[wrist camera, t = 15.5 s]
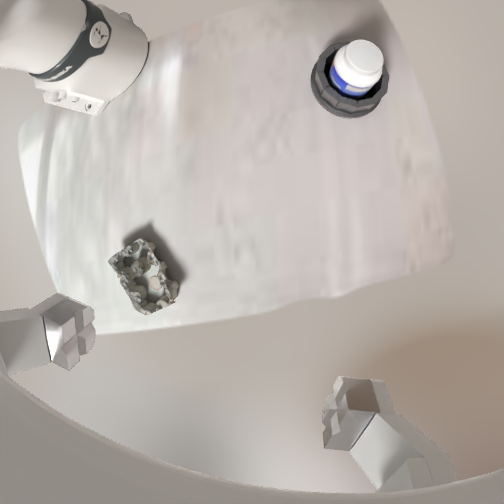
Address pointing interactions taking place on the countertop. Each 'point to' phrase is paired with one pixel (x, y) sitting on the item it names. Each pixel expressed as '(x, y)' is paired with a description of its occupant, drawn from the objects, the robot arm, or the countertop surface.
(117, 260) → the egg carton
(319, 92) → the cup holder
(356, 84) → the pill bottle
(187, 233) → the countertop surface
